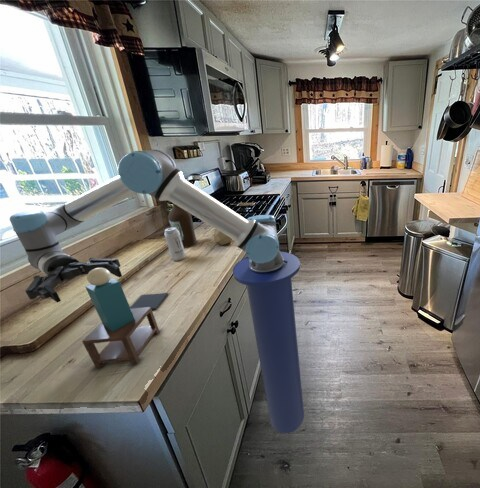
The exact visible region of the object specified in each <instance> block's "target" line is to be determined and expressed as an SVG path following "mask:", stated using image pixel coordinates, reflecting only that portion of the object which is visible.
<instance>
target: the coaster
mask: <svg viewBox="0 0 480 488" xmlns="http://www.w3.org/2000/svg"><path fill="white" fill-rule="evenodd" d="M168 295H169V294H168V292H164V293H151V294H141V295H140V296H139V297H138V298H137V300H136V301H134V303H132V305H131V306H129V307H130V309H133V308H145V307H151V309H152V311H155V310H157V309H158V308H159V306H160V305H161V304H162V302H164V300H165V299H166V298H167V296H168Z"/></svg>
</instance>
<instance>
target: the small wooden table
mask: <svg viewBox="0 0 480 488" xmlns="http://www.w3.org/2000/svg"><path fill="white" fill-rule="evenodd" d="M131 311H132V314H133V316H134V319H135V320H134V321H132V322H130V323H128V324H126V325H124V326H123V327H121V328H119V329H117V330H115V331H113V332H112V331H111V330H109V329H108V328H107V327H105V326H104V325H103V324H102V321H101V322H100V323H99V324H98V325H97V326H96V327H95V328H94V329H93V330H92V331H91V332H90V333H89V334H88V335H86V337H85V338H84V339H82V344H83V346H84V348H85V350H86V351H87V353H88V356H89V358H90V359H91V361H92V364H93V366H94V367H95V368H96V369H101V368H102V367H103V366H104V365H105V363H111V362H113V363H114V362H121V361H130V362H131V364H132V365H137V364H139V362H140V361H141V359H140V357H139V355H140V354H141V352H142V351H143V349H144V348H145V346H146V345H147V343H148V342H149V341H150V340H151V338H152V336H153V335H158V334H159V333H160V329H159V326H158V323H157V320H156V317H155V315H154V312H153V310H152V309H151V307H145V308H133V309H131ZM144 319H147V322H148V324H149V325H145V326H140V325H141V324H142V322H143V321H144ZM98 343H107V345H106V346H104V348H102V350H101V351H100V352H99V350H98V349H97V347H96V345H95V344H98Z"/></svg>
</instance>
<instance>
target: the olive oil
mask: <svg viewBox="0 0 480 488" xmlns="http://www.w3.org/2000/svg"><path fill="white" fill-rule="evenodd" d="M192 216H193V215H192V214H190V213H189V212H187V211H185V210H184V209H182V208H180V207H179V206H177V205H175V204H174V203H172V208H171V209H170V211H169V213H168V216H167V218H168V222H169V225H170V228H171V227H176V228H177V230H178V231H179V233H180V237H181V240H182V244H183V248H188V247H189V248H190V247H191V246H195V245H196V244H197V238H196V232H195V227H194V222H193V218H192Z"/></svg>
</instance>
